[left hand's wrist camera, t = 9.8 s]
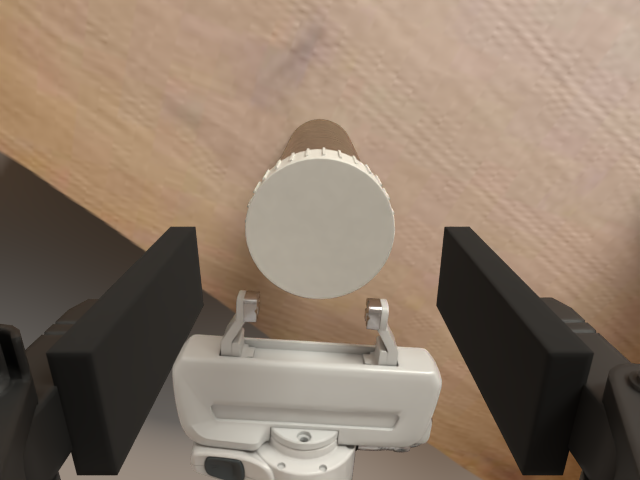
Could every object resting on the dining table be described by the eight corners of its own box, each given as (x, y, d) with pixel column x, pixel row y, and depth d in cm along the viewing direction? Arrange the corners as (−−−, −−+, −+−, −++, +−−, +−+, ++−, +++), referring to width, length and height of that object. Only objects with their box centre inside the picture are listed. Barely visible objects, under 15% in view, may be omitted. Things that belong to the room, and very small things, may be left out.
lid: (237, 159, 18) (227, 169, 16) (380, 135, 18) (388, 143, 16) (266, 287, 20) (260, 310, 18) (395, 268, 20) (404, 289, 18)
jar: (281, 125, 34) (241, 176, 17) (347, 114, 33) (376, 154, 16) (293, 189, 36) (269, 295, 18) (356, 179, 35) (391, 277, 18)
